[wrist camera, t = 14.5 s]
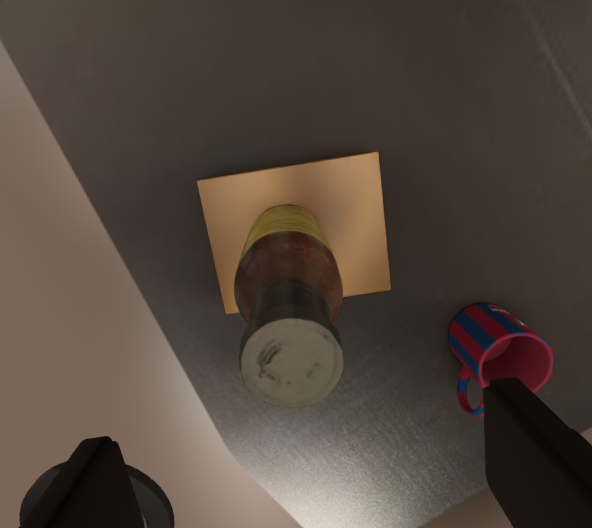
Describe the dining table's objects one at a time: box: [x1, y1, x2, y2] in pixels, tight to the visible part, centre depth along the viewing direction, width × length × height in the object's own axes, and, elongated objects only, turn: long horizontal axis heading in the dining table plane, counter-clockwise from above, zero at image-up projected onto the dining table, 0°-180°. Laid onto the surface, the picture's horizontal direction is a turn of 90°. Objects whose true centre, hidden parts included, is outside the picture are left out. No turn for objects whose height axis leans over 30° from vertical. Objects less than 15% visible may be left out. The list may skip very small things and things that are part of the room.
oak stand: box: [197, 152, 391, 314], centre depth 36 cm, size 15×12×4 cm
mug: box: [448, 303, 555, 417], centre depth 38 cm, size 7×10×7 cm
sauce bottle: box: [234, 204, 344, 408], centre depth 24 cm, size 6×6×20 cm
